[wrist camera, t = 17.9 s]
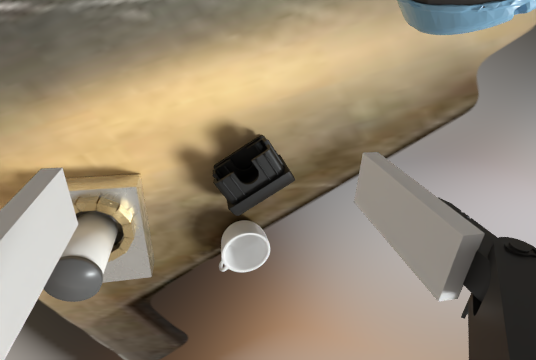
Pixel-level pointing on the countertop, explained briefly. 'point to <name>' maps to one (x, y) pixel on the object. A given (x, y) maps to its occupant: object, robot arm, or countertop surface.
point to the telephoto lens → (83, 259)
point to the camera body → (118, 221)
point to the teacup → (243, 247)
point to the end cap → (251, 175)
